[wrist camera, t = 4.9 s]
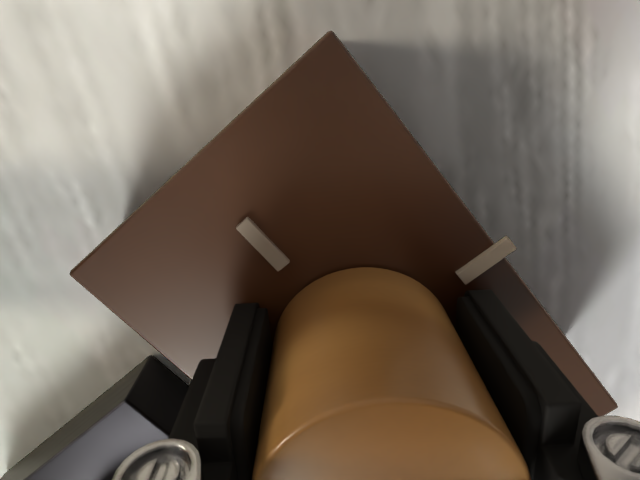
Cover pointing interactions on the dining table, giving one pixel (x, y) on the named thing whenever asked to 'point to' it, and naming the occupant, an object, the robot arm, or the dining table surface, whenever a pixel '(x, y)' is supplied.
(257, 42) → the dining table surface
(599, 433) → the robot arm
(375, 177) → the panel
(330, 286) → the knob
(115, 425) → the button block
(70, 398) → the dining table surface
